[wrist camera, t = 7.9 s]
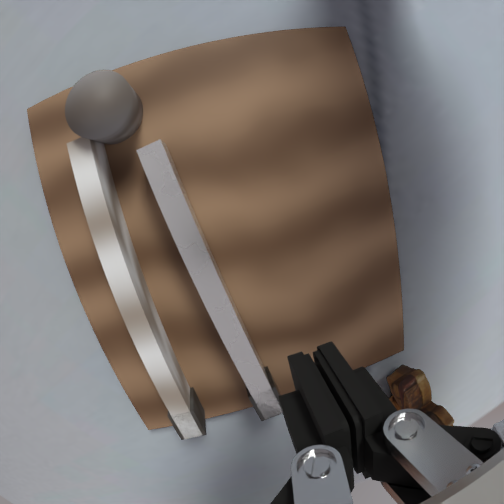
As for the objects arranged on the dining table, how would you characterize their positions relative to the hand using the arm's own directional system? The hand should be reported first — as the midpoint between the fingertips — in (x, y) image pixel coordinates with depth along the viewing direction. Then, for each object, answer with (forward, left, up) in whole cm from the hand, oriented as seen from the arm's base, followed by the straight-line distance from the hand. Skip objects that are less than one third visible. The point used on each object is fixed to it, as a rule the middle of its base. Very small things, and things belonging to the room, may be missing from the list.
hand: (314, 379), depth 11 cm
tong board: (-3, -1, -15) cm, 15 cm away
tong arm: (0, -3, -13) cm, 14 cm away
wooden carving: (+21, +12, -15) cm, 29 cm away
